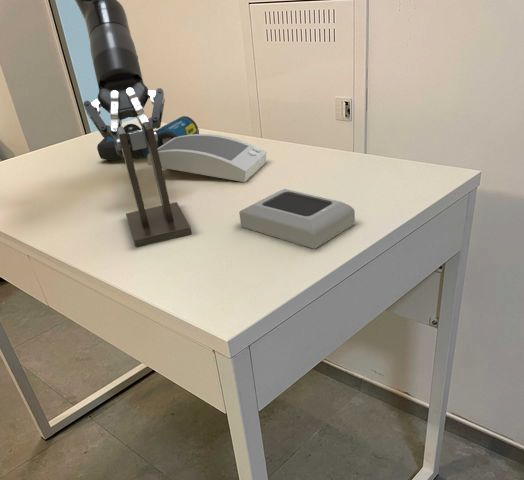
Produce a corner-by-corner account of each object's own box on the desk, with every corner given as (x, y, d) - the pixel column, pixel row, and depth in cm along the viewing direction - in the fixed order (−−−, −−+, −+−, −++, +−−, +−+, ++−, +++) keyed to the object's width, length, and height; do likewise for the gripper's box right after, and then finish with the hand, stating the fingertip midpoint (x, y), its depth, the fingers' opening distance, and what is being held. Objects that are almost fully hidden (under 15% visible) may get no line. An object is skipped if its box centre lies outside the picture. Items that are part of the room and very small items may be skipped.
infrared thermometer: (130, 149, 133) (203, 143, 126) (100, 168, 123) (178, 162, 116) (121, 122, 129) (197, 114, 122) (91, 139, 120) (170, 132, 112)
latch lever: (123, 148, 93) (117, 125, 91) (144, 143, 94) (139, 121, 92) (129, 155, 82) (122, 130, 80) (153, 150, 82) (146, 125, 81)
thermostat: (247, 183, 103) (243, 152, 99) (151, 179, 110) (144, 150, 107) (267, 163, 111) (264, 134, 107) (177, 160, 118) (171, 133, 115)
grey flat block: (279, 183, 90) (354, 200, 81) (281, 205, 92) (354, 224, 83) (238, 204, 85) (313, 224, 76) (241, 226, 87) (314, 249, 78)
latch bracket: (127, 219, 94) (101, 124, 85) (178, 208, 96) (157, 113, 87) (135, 247, 85) (107, 143, 76) (191, 233, 87) (170, 130, 77)
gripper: (67, 53, 89) (88, 149, 86) (154, 38, 90) (176, 132, 88) (79, 83, 96) (98, 172, 94) (159, 69, 98) (180, 157, 95)
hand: (136, 152), depth 91 cm, fingers closed on latch lever, 3 cm apart
